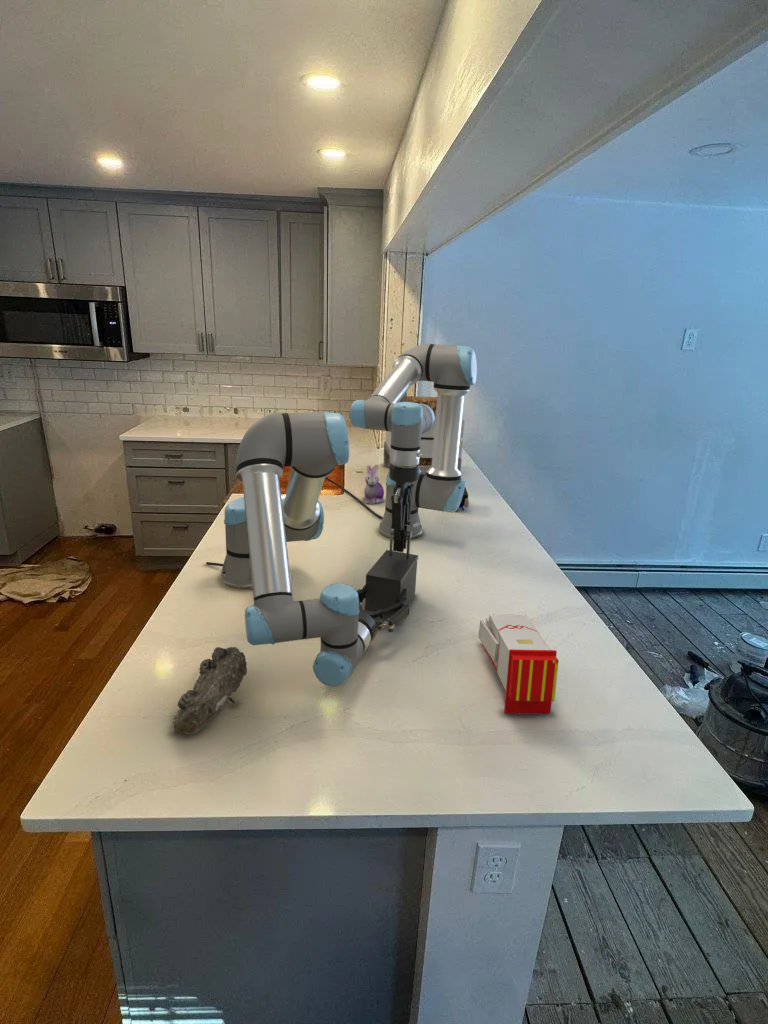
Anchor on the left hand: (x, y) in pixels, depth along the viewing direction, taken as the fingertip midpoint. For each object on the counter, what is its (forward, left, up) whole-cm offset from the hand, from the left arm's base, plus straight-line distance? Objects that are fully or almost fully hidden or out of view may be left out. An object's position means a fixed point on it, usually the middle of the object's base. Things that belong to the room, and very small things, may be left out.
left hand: (386, 590), depth 145 cm
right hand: (0, +10, +7) cm, 13 cm away
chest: (0, +4, -7) cm, 8 cm away
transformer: (-26, +134, -7) cm, 136 cm away
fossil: (-21, -46, -7) cm, 51 cm away
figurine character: (+1, +92, -7) cm, 92 cm away
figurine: (-33, +84, -7) cm, 91 cm away
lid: (0, +5, +4) cm, 6 cm away
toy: (+34, -14, -7) cm, 37 cm away
